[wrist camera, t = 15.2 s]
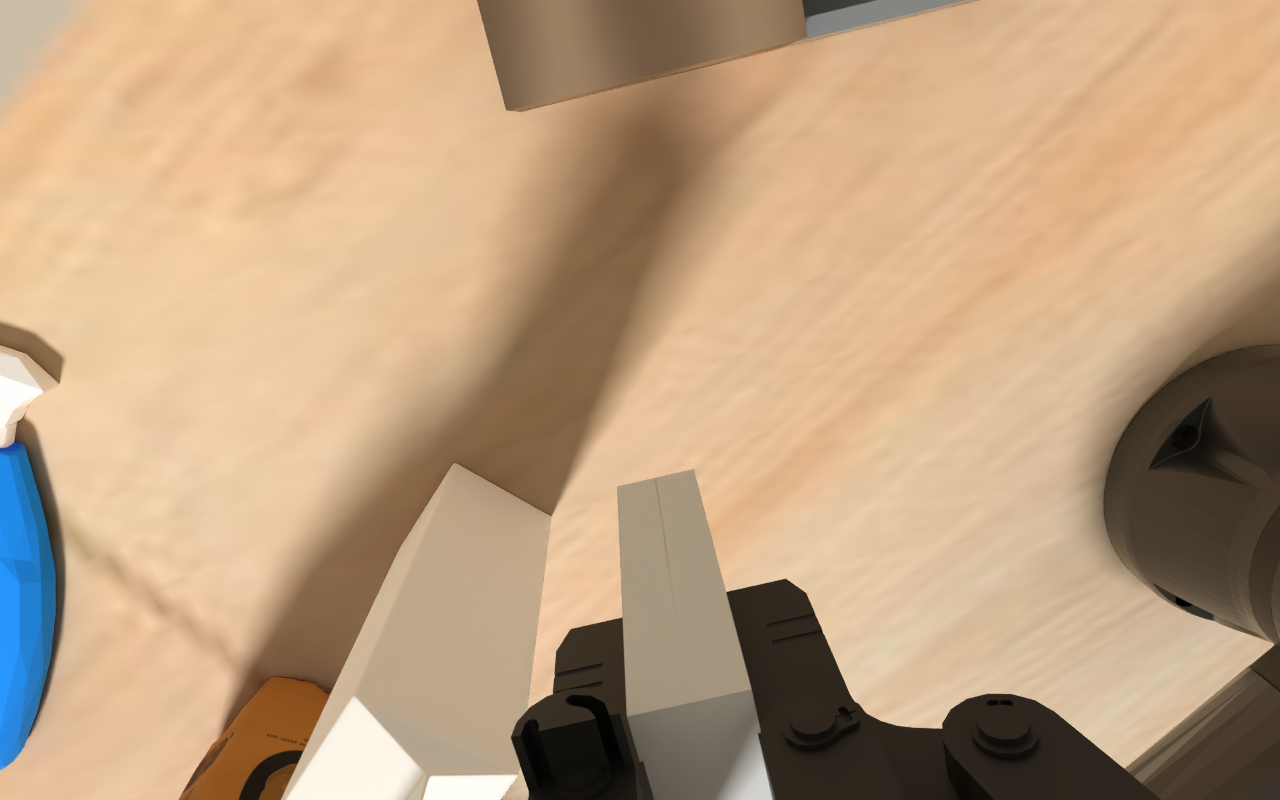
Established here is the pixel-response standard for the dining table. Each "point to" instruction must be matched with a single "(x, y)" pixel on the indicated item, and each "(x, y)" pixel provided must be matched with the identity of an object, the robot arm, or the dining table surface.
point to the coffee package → (260, 744)
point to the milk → (438, 658)
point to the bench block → (623, 41)
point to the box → (861, 14)
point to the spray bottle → (22, 562)
